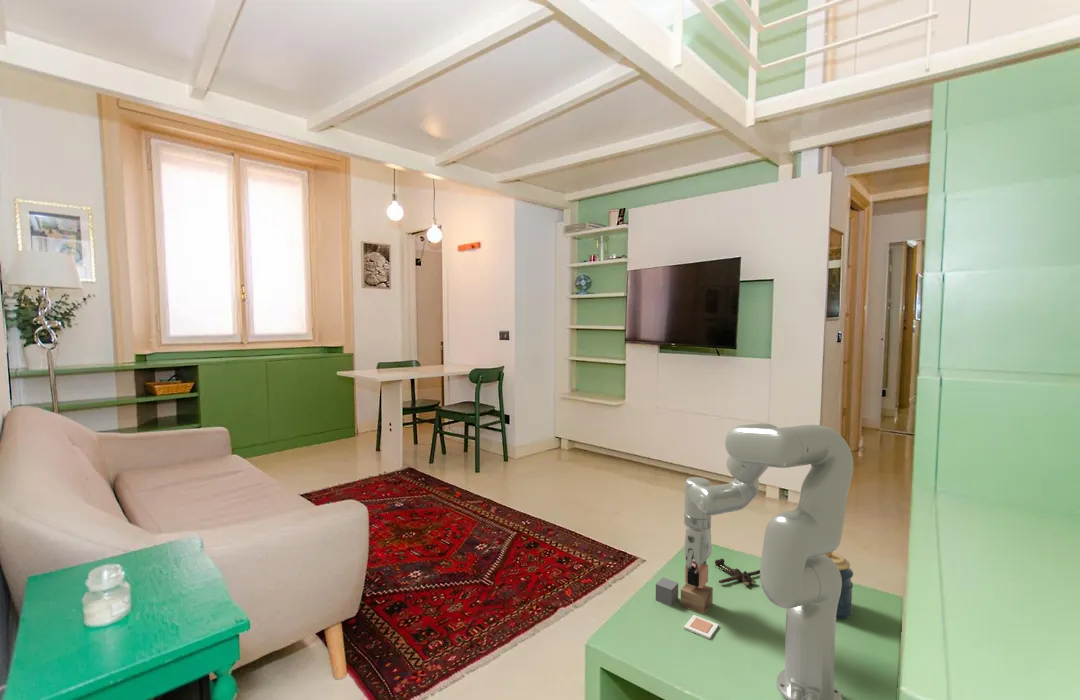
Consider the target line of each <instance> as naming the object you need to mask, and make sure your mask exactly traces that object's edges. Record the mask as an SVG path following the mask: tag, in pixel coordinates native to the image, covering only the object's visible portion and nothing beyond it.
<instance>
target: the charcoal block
mask: <svg viewBox="0 0 1080 700" xmlns="http://www.w3.org/2000/svg"><path fill="white" fill-rule="evenodd" d="M677 600H679V582H677V581H675V580H671V579H669V578H665V577H661V578H660V579H659V580H658V582H656V583H655V601H657V602H659V601H660V603H662V602H663V604H664V603H666V604H665V605H667V604H668V606H670V607H672V606H673V605H674V604H675V603H676V602H677ZM675 601H676V602H675ZM674 602H675V603H674Z"/></svg>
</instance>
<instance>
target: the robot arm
mask: <svg viewBox="0 0 1080 700" xmlns="http://www.w3.org/2000/svg"><path fill="white" fill-rule="evenodd" d="M724 444H725V449H726V452H727V454H728V455H729V456H728V457H727V459H726V468H727V471H728V473H730V475H731V476H732V477H733V478H734V479H733V480H732V481H731V482H729V483H723V484H722V483H721V484H715V485H712V482H711V481H710V480H709V479H707V478H705V477H701V476H700V477H699V476H691V477H688V478H687V479H686V480H685V482H684V514H683V515H684V521H683V523H684V526H685V535H684V538H685V539H684V560H685V566H686V567H687V571H688V578H687V583H688V584H690V585H693V586H696V587H698V586H699V573H698V566H699V565H701V564H703V563H704V564H707V559H709V557H711V555H712V532H711V531H712V530H711V529H712V516H717V515H721V514H726V513H727V514H728V513H733V512H738V511H741V510H743V509H745V508H746V507H747V506H748V505H749V504H750V503H751V502H752V501H753V499H755V497H756V496H757V495H758V493H759V488H760V487H759V486H760V481H759V479H760V478H761V476H762V475H763V474H764V473H765V472H766V471H767V470H768V468H769V467H770V468H779V469H780V468H781V469H785V468H786V469H787V468H795V467H802V466H807V465H810V466H811V467H810V468H809V471H808V473H807V474H806V476H805V478H804V479H803V482H802V484H801V487H800V496H799V501H798V505H797V507H796V508H795V509H793V510H790V511H784V512H781V513H778V514H775V516H772V518H771V519H770V520H769V522H768V524H767V526H766V528H765V530H764V531H765V532H764V535H763V536H764V538H763V545H762V554H761V561H760V567H759V570H760V574H759V580H760V585H761V588H762V590H763V593H764V594H765V596H766V598H767V600H769V601H770V602H771V603H772V604H773V605H775V606H777V607H779V608H782V609H786V611H785V614H786V615H785V645H784V647H785V649H784V655H785V657H784V669H783V670H781V671H780V672H779V673H778V675H777V677H776V685H777V688H778V691H779V693H780V694H781V695H782V696H783V697H784V699H785V700H843V698H842V695H841V692H840V691H839V689H837V687H836V686H835V662H836V661H835V659H836V654H835V653H836V630H837V629H836V628H837V619H836V614H837V607H838V602H839V598H840V594H841V588H842V578H841V574H840V571H839V569H838V567H837V565H836V564H835V563H834V561H833V560H832V559H831V558H829V557H828V556H826V555H824V554H827V553H830V552H835V551H836V550H837V549H838V548H839V546H840V544H841V540H842V535H843V528H844V522H845V517H846V516H845V515H846V510H847V500H848V495H849V489H850V486H851V483H852V480H853V479H852V477H853V472H854V457H853V453H852V450H851V447H850V446H849V444H848V443H847V441H846V440H845V439H844V437H843V436H842V435H841V434H840V433H839V432H838V431H836V430H835V429H833V428H831V427H828V426H825V425H822V424H821V425H820V424H805V425H804V424H803V425H794V426H785V427H778V426H776V425H774V424H771V423H766V422H765V423H763V422H762V423H752V424H742V425H737V426H735V427H734V426H733V428H732V429H730V430H729V431H728V432H727V435H726V437H725V442H724ZM693 560H695V561H693ZM692 563H693V564H695V567H694V566H692Z"/></svg>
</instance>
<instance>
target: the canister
mask: <svg viewBox="0 0 1080 700" xmlns="http://www.w3.org/2000/svg"><path fill="white" fill-rule="evenodd" d="M824 555H826V556H828V557H829V558H831V559H832V560H833V561H834V563H835V564H836V565H837V567H838V569H839V571H840V574H841V578H842V588H841V594H840V598H839V602H838V607H837V614H836V620H842V619H847V618H850V617H851V616H852V615H851V614H852V612H853V607H854V606H853V588H854V587H853V586H854V584H853V581H852V578H853V576H854V572H853V570H852V568H850V567H851V564H850V562H849V560H847V559H846V558H844V557H843V556H842V555H841V554H839V553H837V552H836V551H833V552H830V553H827V554H824Z"/></svg>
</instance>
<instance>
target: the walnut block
mask: <svg viewBox="0 0 1080 700" xmlns="http://www.w3.org/2000/svg"><path fill="white" fill-rule="evenodd" d="M713 588H714V587H712V586H709V585H706V584H705V585H704V587H703V588H699V587H696V586H693V585H690V584H688V583H685V584H684V586H683V587H682V588H680V606H681V607H683V608H686V609H688V608H689V610H691V611H693V610H694V612H697V613H700V614H702V615H706V613H707V612H708V610H709V609H710V608H711V607H712V605H713V604H712V603H714V602H713V600H714V599H713V595H714V592H713V591H714V589H713Z"/></svg>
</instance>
